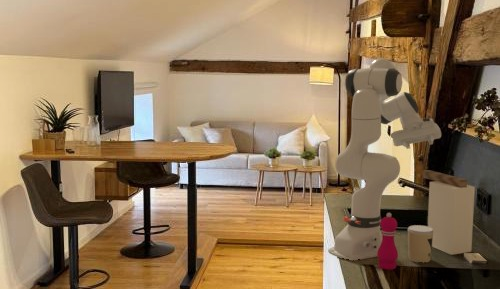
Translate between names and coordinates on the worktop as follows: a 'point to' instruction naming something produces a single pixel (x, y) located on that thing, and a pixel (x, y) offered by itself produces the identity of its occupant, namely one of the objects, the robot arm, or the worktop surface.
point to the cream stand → (451, 217)
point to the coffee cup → (420, 243)
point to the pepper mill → (387, 243)
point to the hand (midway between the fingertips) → (419, 145)
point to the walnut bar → (445, 178)
